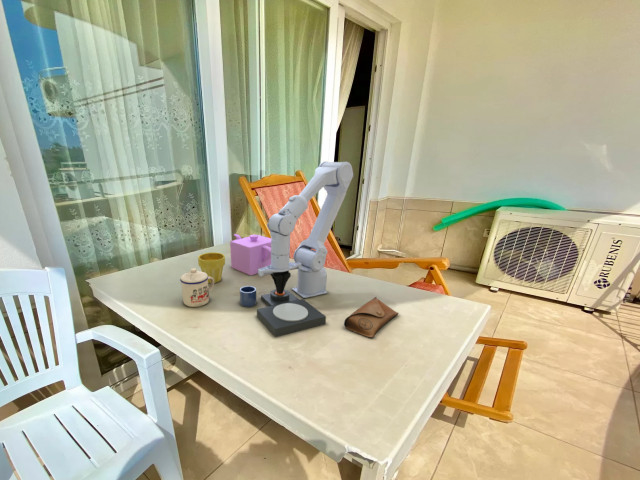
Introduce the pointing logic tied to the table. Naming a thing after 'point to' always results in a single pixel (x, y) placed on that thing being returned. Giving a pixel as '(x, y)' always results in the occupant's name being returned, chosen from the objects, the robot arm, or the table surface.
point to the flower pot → (212, 265)
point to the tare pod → (278, 298)
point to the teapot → (250, 253)
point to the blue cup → (248, 296)
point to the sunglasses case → (369, 318)
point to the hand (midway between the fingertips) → (279, 292)
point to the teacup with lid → (195, 288)
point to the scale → (290, 317)
